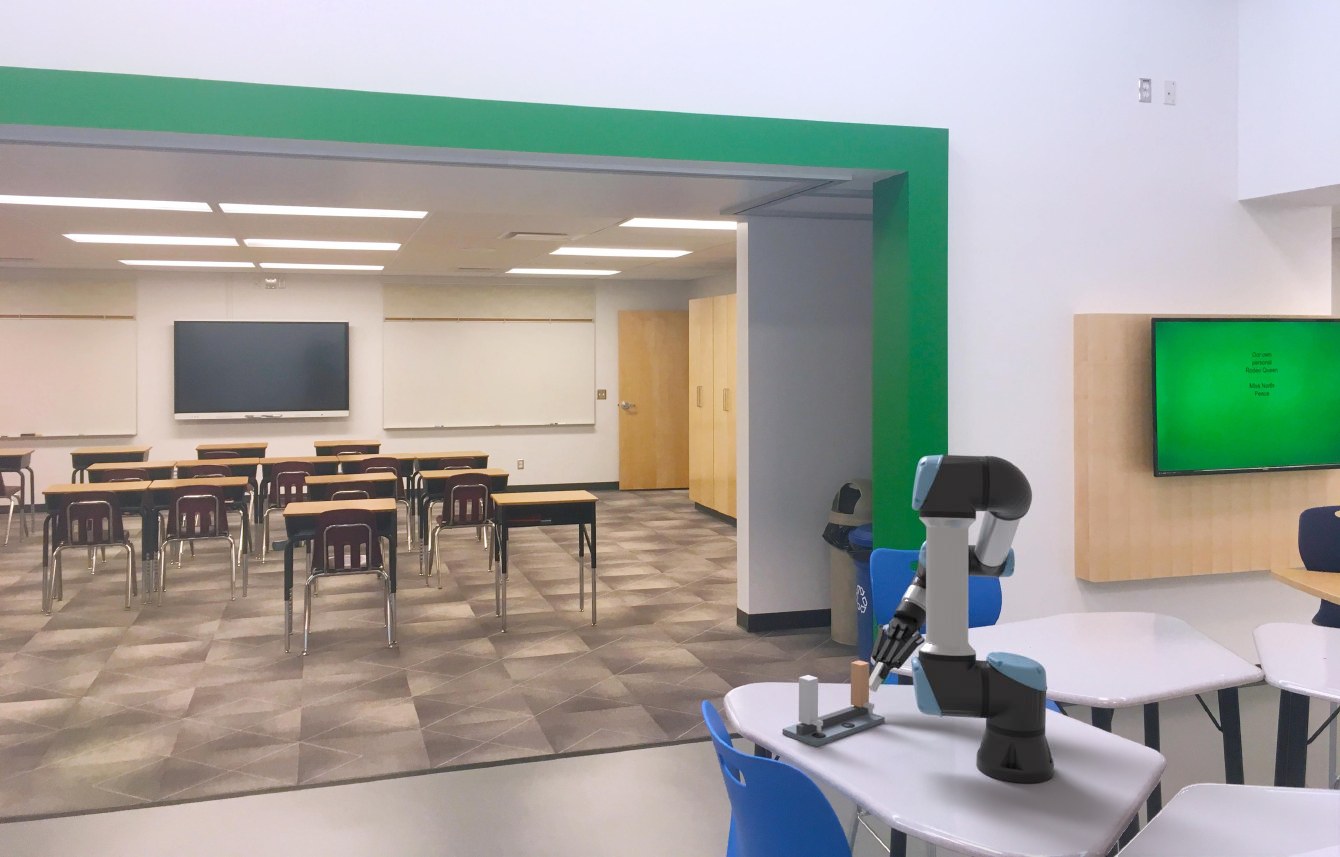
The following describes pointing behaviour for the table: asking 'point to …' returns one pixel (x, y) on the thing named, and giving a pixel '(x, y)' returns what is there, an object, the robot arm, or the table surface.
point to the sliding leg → (860, 685)
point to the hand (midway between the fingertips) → (871, 687)
